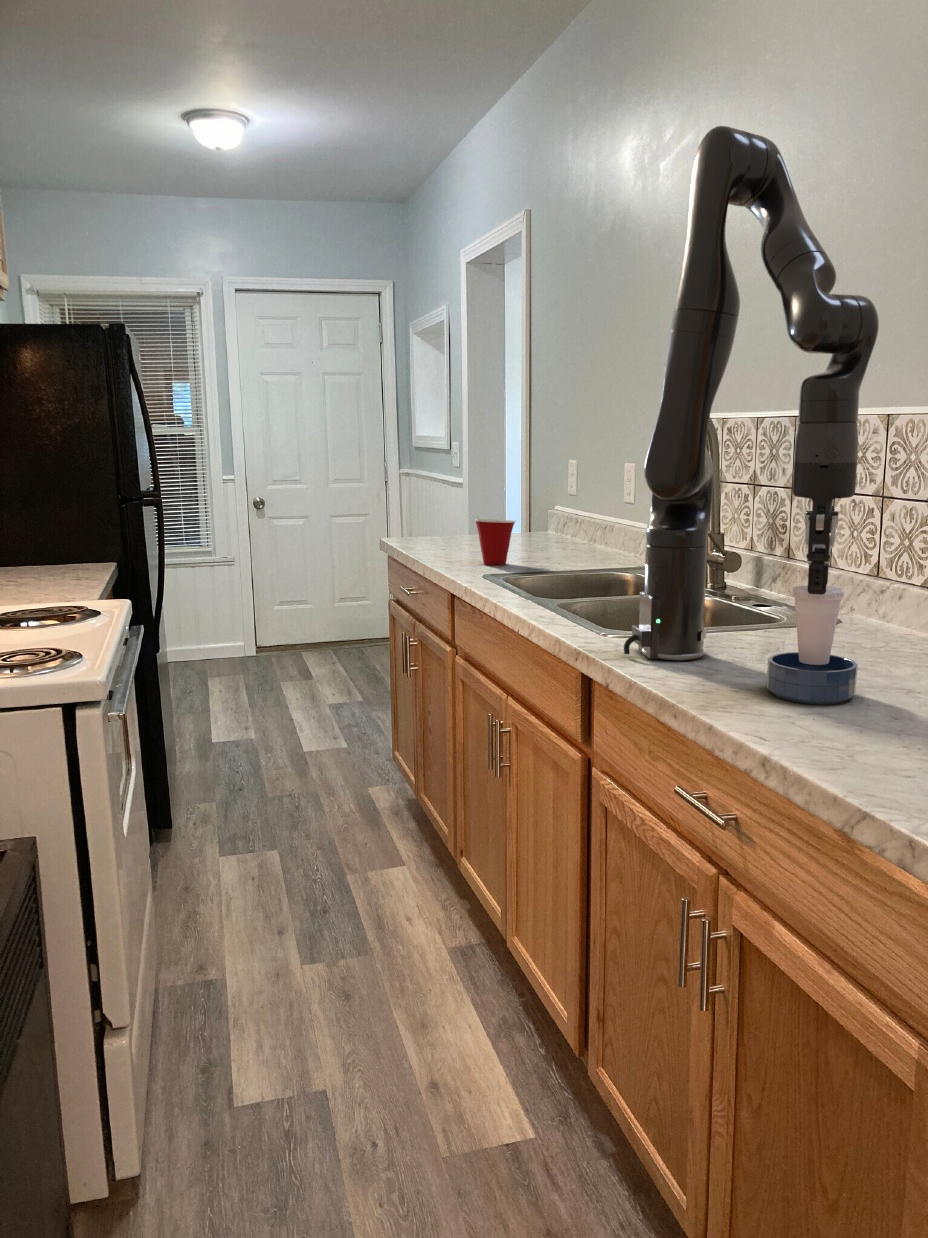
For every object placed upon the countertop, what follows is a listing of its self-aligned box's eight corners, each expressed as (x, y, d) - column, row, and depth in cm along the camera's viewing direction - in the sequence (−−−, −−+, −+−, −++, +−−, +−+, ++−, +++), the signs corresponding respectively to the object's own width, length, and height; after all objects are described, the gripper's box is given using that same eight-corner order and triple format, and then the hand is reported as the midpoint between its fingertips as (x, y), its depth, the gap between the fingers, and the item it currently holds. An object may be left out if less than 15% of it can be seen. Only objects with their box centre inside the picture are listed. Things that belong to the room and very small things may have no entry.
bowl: (790, 708, 122) (792, 673, 121) (752, 685, 133) (754, 653, 132) (871, 704, 123) (874, 669, 122) (828, 682, 134) (830, 650, 133)
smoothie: (843, 668, 123) (851, 559, 121) (791, 666, 125) (797, 558, 122) (835, 656, 130) (841, 553, 127) (785, 655, 131) (790, 552, 128)
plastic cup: (524, 563, 253) (524, 517, 251) (499, 568, 245) (499, 521, 243) (491, 560, 260) (490, 515, 258) (466, 564, 252) (466, 518, 249)
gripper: (797, 457, 130) (790, 580, 133) (790, 461, 117) (783, 597, 120) (857, 457, 127) (849, 582, 131) (857, 461, 114) (848, 600, 117)
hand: (817, 589), depth 125 cm, fingers closed on smoothie, 6 cm apart
